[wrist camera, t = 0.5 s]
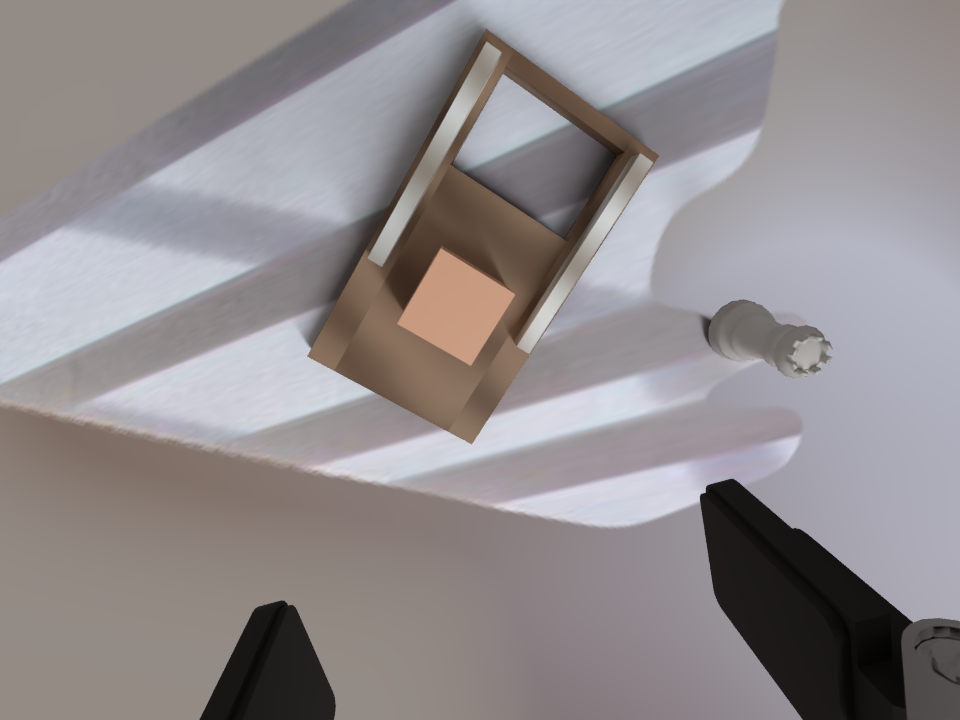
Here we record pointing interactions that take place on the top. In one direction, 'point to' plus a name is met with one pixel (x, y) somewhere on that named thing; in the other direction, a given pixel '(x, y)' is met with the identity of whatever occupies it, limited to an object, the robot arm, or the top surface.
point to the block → (456, 306)
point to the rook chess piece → (767, 340)
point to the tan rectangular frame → (471, 256)
